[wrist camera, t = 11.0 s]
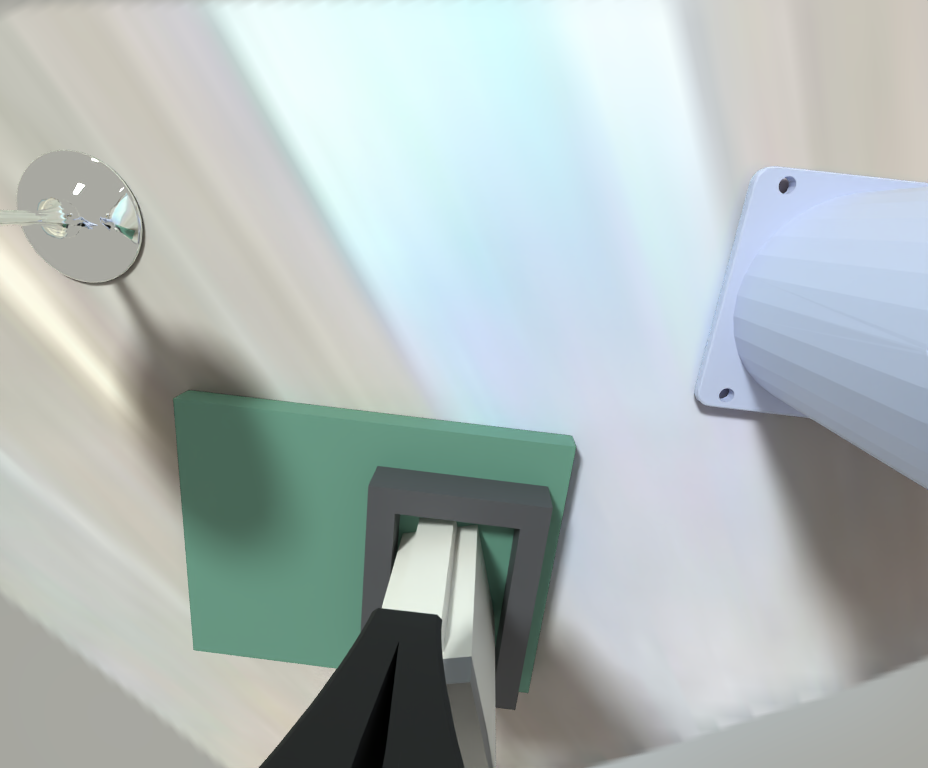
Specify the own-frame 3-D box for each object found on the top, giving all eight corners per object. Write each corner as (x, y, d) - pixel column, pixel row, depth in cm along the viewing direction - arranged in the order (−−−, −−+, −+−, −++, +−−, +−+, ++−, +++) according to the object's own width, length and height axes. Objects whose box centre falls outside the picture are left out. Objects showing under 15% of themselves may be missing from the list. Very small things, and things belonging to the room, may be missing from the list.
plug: (494, 617, 21) (496, 803, 14) (424, 623, 21) (393, 809, 14) (475, 511, 19) (466, 663, 13) (399, 520, 19) (352, 674, 13)
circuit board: (571, 435, 19) (583, 465, 17) (526, 673, 23) (530, 725, 20) (188, 389, 19) (146, 413, 17) (206, 632, 23) (172, 679, 21)
